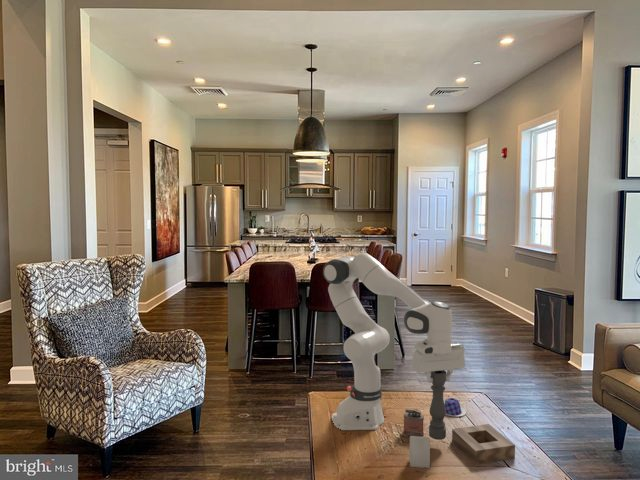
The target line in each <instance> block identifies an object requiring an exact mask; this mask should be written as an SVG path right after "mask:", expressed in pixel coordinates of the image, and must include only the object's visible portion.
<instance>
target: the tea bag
mask: <svg viewBox="0 0 640 480" xmlns="http://www.w3.org/2000/svg"><path fill="white" fill-rule="evenodd" d="M430 438H431V437H430V436H429V437H427V436H412V435H409V467H413V468H414V467H415V468H424V467H427V469H430V468H431V460H430V459H431V449H430V446H431V445H430V442H431V441H430Z"/></svg>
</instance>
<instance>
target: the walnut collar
mask: <svg viewBox="0 0 640 480" xmlns="http://www.w3.org/2000/svg"><path fill="white" fill-rule="evenodd" d="M451 434H452V435H451V441H452V443H453V444H454V445H455V446H456V447H457V448H458V449H459V450H460V451H461V452H462V453H463V454H464V455H465V456H466V457H467V458H468V459H469V460H470V461H471V462H472V463H473V464H474V465H480V464H481V465H482V464H488V463H493V462H500V461H505V460H507V461H508V460H513V459H515V458H516V444H515V443H513V442H512V441H511V440H509V438H507V437H506V436H504V435H503V434H502V433H501V432H500V431H498V430H497V429H496V428H495V427H493V426H492V425H490V424H489V423H485V424H480V425H479V424H478V425H471V426H465V427H463V426H462V427H455V428H452V429H451Z"/></svg>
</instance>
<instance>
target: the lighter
mask: <svg viewBox="0 0 640 480" xmlns="http://www.w3.org/2000/svg"><path fill="white" fill-rule="evenodd" d="M404 412H405V413H403V431H402V432H403V434H404V435H407V436H415V437H425V436H424V434H425V433H424V419H425V417H424V415H422V414H421V413H422V411H421V410H417V409H416V408H413V409H412V408H411V409H410V408H405V411H404Z"/></svg>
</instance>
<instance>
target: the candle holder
mask: <svg viewBox="0 0 640 480" xmlns="http://www.w3.org/2000/svg"><path fill="white" fill-rule="evenodd" d="M446 374H447V370H442V371H431V372H430V376H431V377H432V378H433V382H431V384H432V385H431V386H430V389H431V390H432V399H431V403H430V405H429V406H430V407H429V414H430V416H431V419H430V421H429V427H428V435H429V438H431V439H434V440H439V441H440V440H441V441H442V440H444V439H446V437H447V427H446V422H445V421H444V419H445V417H446V416H447V415H446V409H445V400H444V392H445V390H446V387H445V384H446V382H447V381H446Z"/></svg>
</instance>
